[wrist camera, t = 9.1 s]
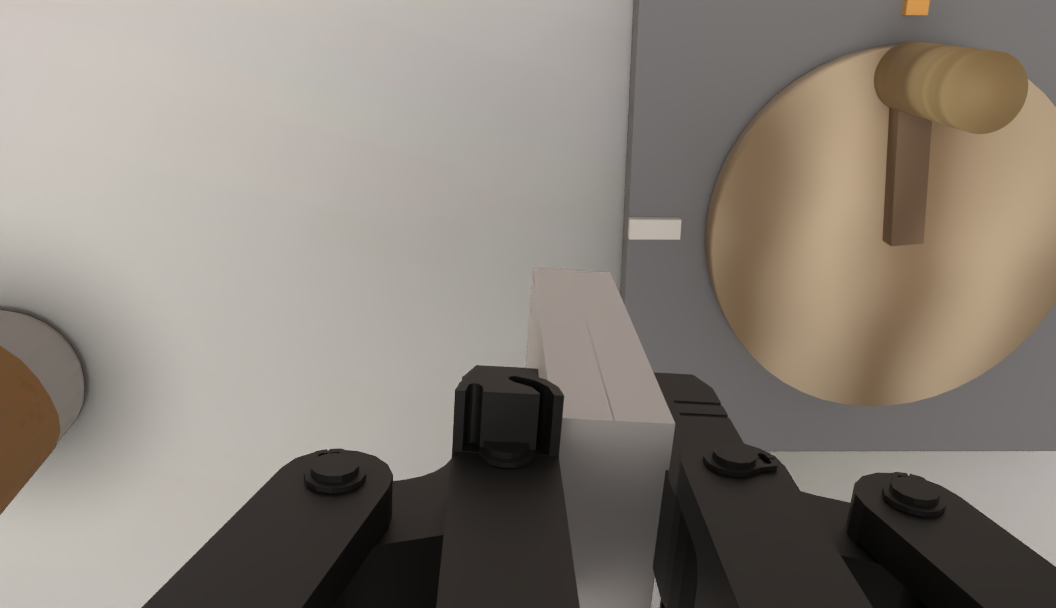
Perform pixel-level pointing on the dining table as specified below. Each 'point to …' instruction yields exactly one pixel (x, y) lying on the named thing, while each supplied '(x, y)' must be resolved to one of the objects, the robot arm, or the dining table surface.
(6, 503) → the coffee cup
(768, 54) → the dial base
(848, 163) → the dial
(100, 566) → the dining table surface
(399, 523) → the robot arm
